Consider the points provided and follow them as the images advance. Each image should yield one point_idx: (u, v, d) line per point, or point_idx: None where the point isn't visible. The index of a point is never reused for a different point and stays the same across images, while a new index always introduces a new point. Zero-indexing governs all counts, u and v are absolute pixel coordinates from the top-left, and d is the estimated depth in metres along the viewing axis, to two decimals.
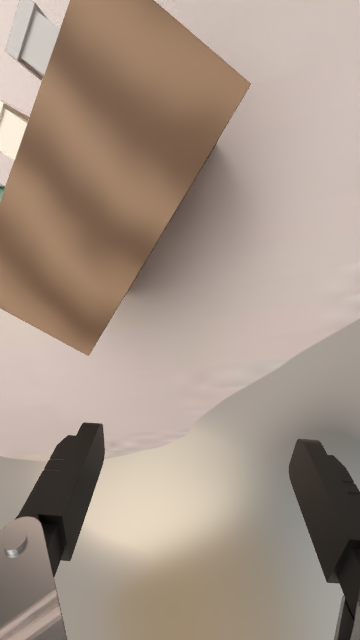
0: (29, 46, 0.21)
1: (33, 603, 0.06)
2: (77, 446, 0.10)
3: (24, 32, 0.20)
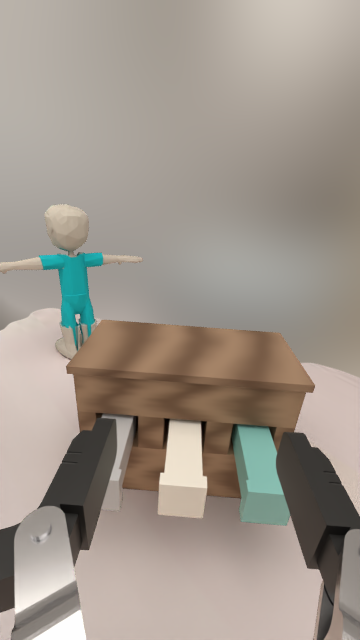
0: None
1: (54, 590, 0.06)
2: (93, 440, 0.10)
3: None
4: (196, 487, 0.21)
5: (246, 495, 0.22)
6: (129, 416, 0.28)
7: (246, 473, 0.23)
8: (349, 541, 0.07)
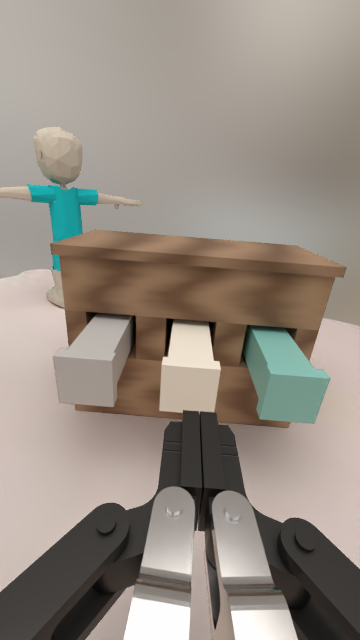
0: None
1: (172, 570, 0.06)
2: (188, 430, 0.11)
3: (88, 351, 0.18)
4: (207, 369, 0.17)
5: (267, 381, 0.18)
6: (125, 318, 0.24)
7: (266, 364, 0.19)
8: (215, 509, 0.08)
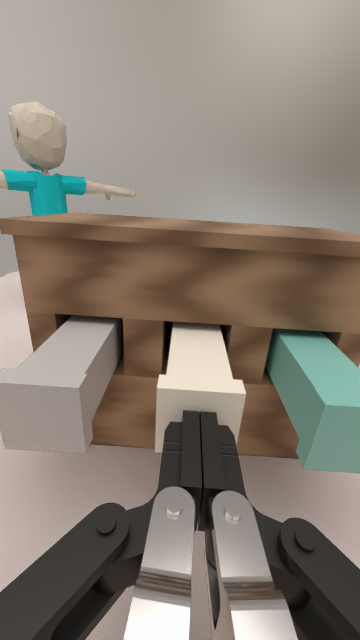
0: None
1: (172, 570, 0.06)
2: (188, 430, 0.11)
3: (45, 372, 0.12)
4: (225, 393, 0.12)
5: (319, 415, 0.12)
6: (109, 322, 0.18)
7: (310, 386, 0.13)
8: (215, 510, 0.08)
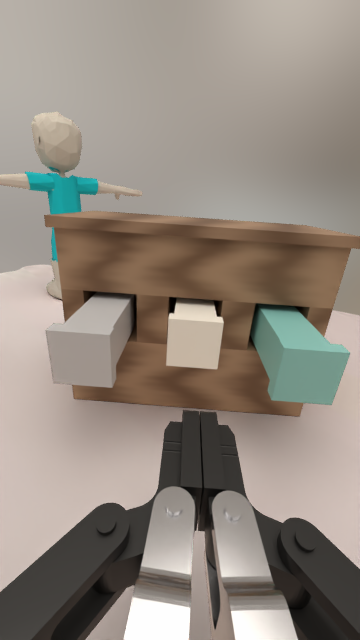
0: None
1: (172, 570, 0.06)
2: (188, 430, 0.11)
3: (84, 326, 0.17)
4: (211, 322, 0.19)
5: (281, 357, 0.16)
6: (125, 298, 0.23)
7: (277, 340, 0.18)
8: (215, 510, 0.08)
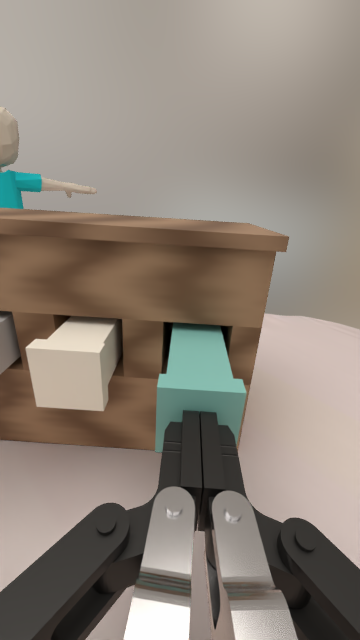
0: None
1: (172, 570, 0.06)
2: (188, 430, 0.11)
3: None
4: (83, 352, 0.14)
5: (157, 397, 0.12)
6: (2, 316, 0.18)
7: (167, 371, 0.14)
8: (215, 509, 0.08)
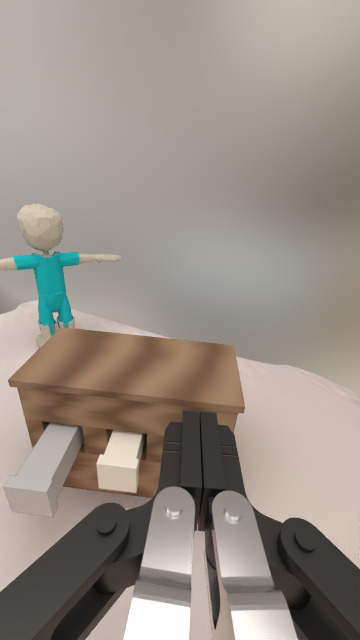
0: (40, 476, 0.24)
1: (172, 570, 0.06)
2: (188, 430, 0.11)
3: (31, 479, 0.24)
4: (127, 467, 0.25)
5: None
6: (75, 425, 0.30)
7: None
8: (215, 509, 0.08)
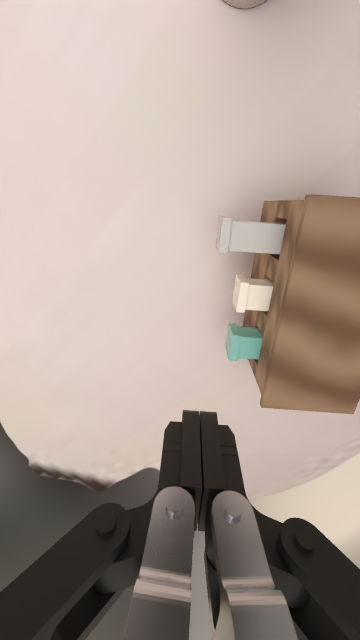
0: (231, 241, 0.31)
1: (172, 570, 0.06)
2: (188, 430, 0.11)
3: (228, 237, 0.30)
4: (237, 305, 0.33)
5: (233, 332, 0.36)
6: None
7: (247, 336, 0.35)
8: (215, 510, 0.08)
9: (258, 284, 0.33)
